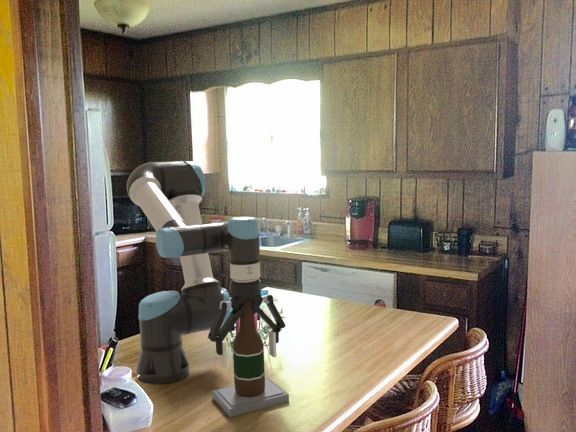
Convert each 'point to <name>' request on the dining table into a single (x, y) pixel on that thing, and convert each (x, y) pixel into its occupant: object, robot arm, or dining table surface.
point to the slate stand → (249, 399)
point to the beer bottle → (248, 357)
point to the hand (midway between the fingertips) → (248, 361)
